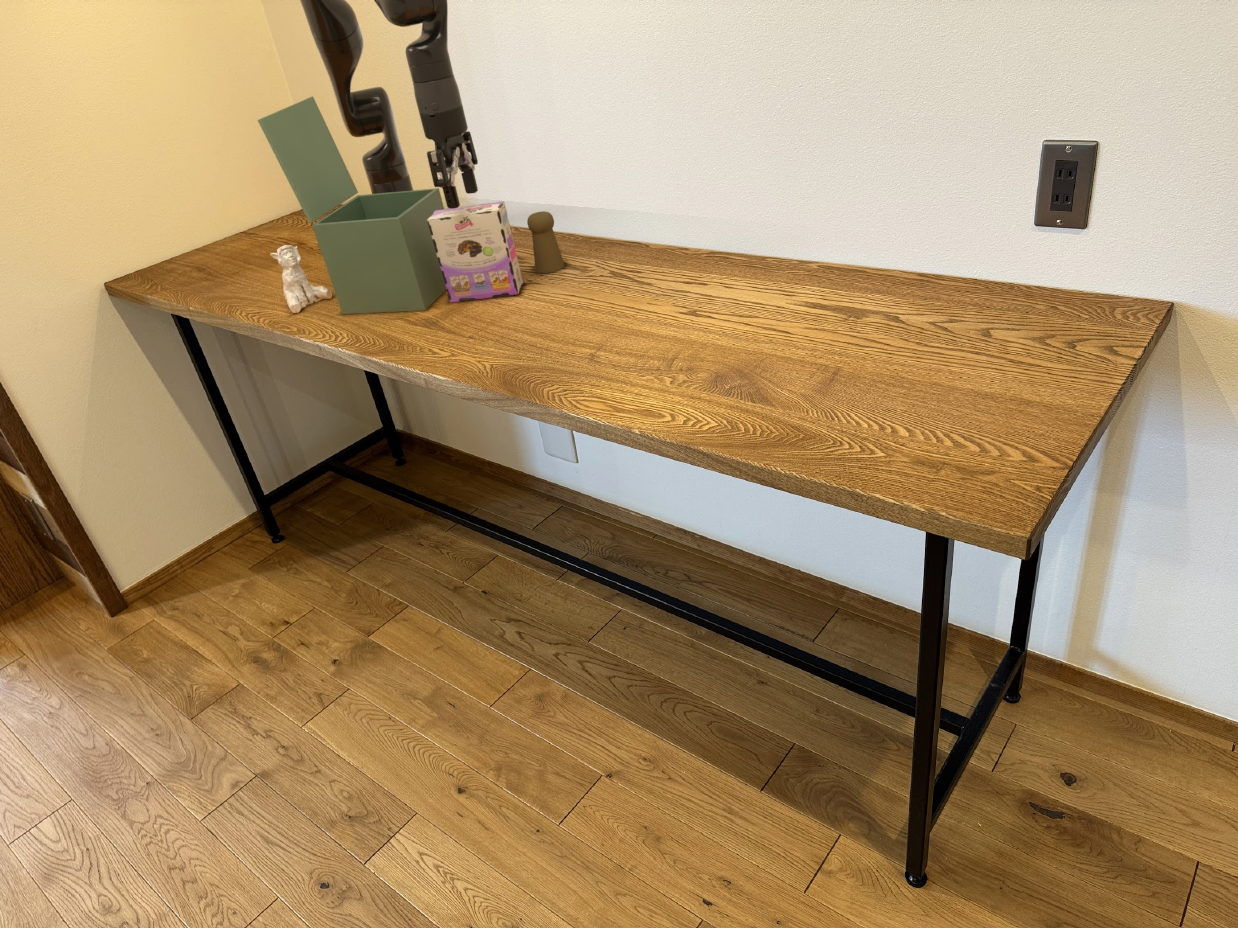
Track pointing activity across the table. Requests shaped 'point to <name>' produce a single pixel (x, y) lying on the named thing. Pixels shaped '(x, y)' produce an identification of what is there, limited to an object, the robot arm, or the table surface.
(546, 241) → the brown game pawn
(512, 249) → the candy box
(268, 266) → the table surface
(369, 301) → the chest
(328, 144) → the lid
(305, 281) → the sitting furry creature
